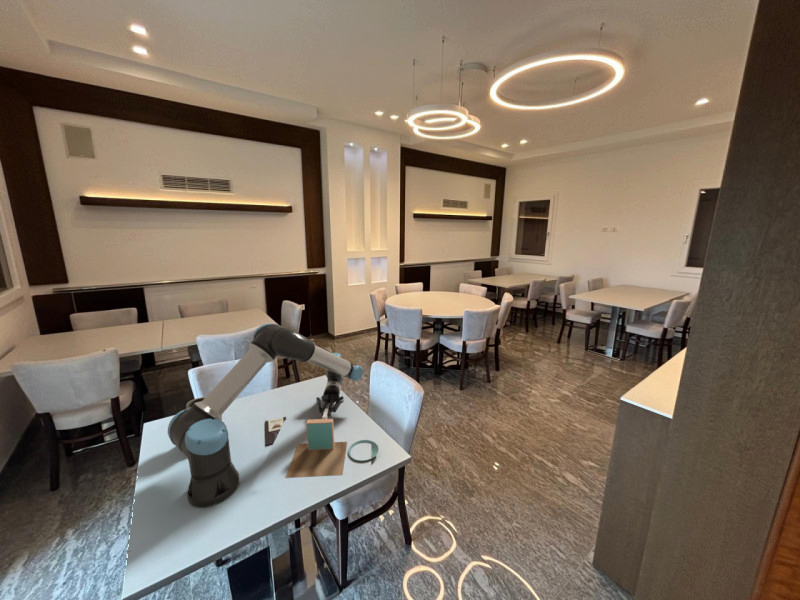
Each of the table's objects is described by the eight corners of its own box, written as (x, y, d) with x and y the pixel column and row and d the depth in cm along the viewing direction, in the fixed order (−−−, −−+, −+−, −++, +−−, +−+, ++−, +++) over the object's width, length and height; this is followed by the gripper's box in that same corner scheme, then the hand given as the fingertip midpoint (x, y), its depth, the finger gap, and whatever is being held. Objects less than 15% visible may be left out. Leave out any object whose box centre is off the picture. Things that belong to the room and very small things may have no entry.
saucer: (356, 470, 115) (356, 464, 115) (343, 451, 125) (343, 446, 124) (384, 457, 121) (384, 452, 121) (370, 441, 131) (369, 436, 131)
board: (285, 480, 110) (285, 477, 109) (298, 446, 127) (297, 443, 127) (342, 477, 111) (342, 474, 111) (347, 444, 129) (347, 441, 128)
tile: (308, 450, 123) (306, 423, 120) (309, 446, 126) (307, 419, 123) (333, 449, 124) (332, 422, 121) (334, 445, 126) (333, 418, 124)
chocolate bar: (265, 445, 127) (265, 421, 143) (266, 447, 127) (265, 422, 143) (289, 439, 131) (285, 416, 147) (289, 441, 131) (286, 418, 147)
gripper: (345, 398, 156) (340, 427, 133) (319, 399, 155) (309, 428, 132) (345, 384, 154) (339, 411, 131) (318, 385, 153) (308, 412, 130)
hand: (324, 419), depth 132 cm, fingers closed
